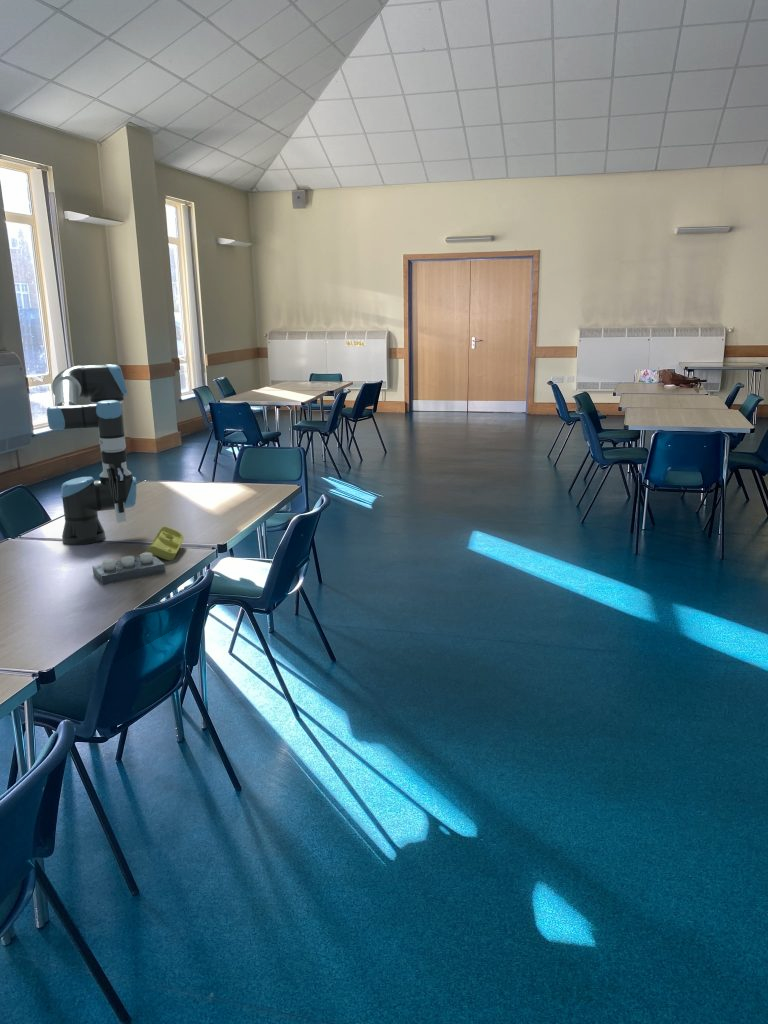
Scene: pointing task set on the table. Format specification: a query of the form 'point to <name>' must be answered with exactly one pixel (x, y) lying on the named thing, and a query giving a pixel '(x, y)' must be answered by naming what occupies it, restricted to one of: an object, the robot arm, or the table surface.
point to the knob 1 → (109, 564)
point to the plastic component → (166, 543)
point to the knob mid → (128, 561)
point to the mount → (128, 571)
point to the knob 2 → (146, 557)
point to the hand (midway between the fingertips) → (121, 521)
